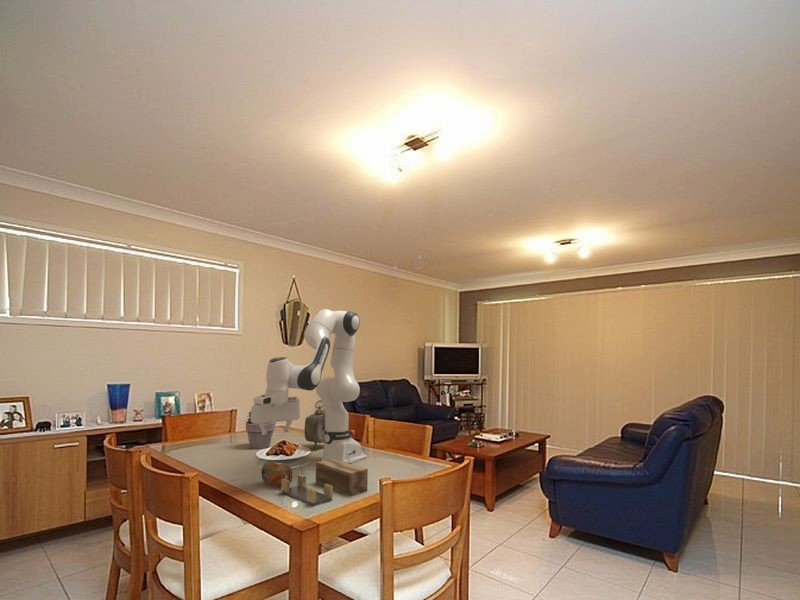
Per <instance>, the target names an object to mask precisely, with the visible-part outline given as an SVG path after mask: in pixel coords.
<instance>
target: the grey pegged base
mask: <svg viewBox="0 0 800 600" xmlns="http://www.w3.org/2000/svg"><path fill="white" fill-rule="evenodd" d="M306 476H307V475H303V474H298V475H297V485H296V486H292V487H290V484H291V483H290V480H287V479H285V478H284V479H282V483H281V487H280V488H281V489H280V491H281V494H283V495H286V496H289V497H291V498H293V499H295V500H298V501H300V502H302V503H306V504H308V505H310V506H312V507H315V506H319V505H321V504H324V503H328V502H331V501H333V496H334V495H333V494H334V493H333V491H334V489H333V486H332V485H330V484H324V486H323V493H322V492H318V491H317V490H316V489H314V488H311V487H310V488H308V487H306V486H307V485H306V484H307V477H306Z"/></svg>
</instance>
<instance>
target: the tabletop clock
mask: <svg viewBox="0 0 800 600" xmlns="http://www.w3.org/2000/svg"><path fill="white" fill-rule="evenodd" d="M318 403H322V400H318V401H316V403H315V408H316V410H315V411H314V413H313V414H310V415H308V416H306V418H305V420H304V439H305V440H306V441H307V442H311V443H314V445H313V447H314V448H313V450H314V451H317V450H318V445H317V444H322V443H324V444H325V441H324V431H325V410H324V409H323V408H324V406H323V405H318V406H317V404H318Z"/></svg>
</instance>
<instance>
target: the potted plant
mask: <svg viewBox="0 0 800 600" xmlns="http://www.w3.org/2000/svg"><path fill="white" fill-rule="evenodd" d="M251 410H252V408H251V409H250V411H249V412H248V415H247V416H246V418H247V417H248V418H247V419H246V420H244V421H243V420H242V421H241V422H243V423H244V422H245V431H246V432H247V438H248V442H249V447H250V449H252V450H262V449H268V448H269V447H270V444H271V440H272V438H273V434H274V431H275V429H276V423H277V422H271V423H265V426H264V428H265V430H267V435H262V430H261V428H260V426H259V424H253V423H252V422H251V420H250V418H251ZM245 411H248V410H245Z"/></svg>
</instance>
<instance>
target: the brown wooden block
mask: <svg viewBox="0 0 800 600" xmlns="http://www.w3.org/2000/svg"><path fill="white" fill-rule="evenodd" d="M368 472H369V471H368V468H365V467H362V466H359V465H355V464H353V463H350V464H349V463H345V462H341V461H338V460H334V459H329V460H324V461H316V462H315V481H314V482H315V484H317V485H320V486H323V487H324V484H330V485H332V486H333V491H337V492H340V493H343V494H345V495H349V496H354V495H359V494H361V493H364V492H367V491H368V478H369V477H368V474H369V473H368Z"/></svg>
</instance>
